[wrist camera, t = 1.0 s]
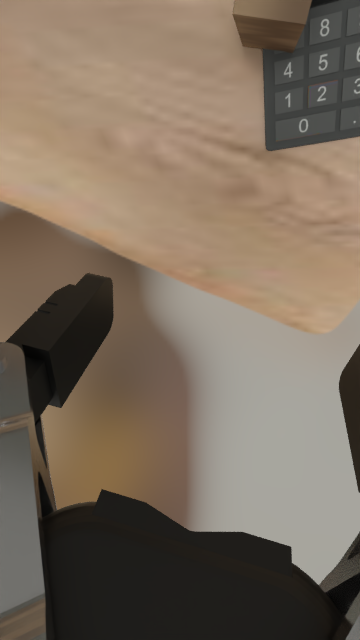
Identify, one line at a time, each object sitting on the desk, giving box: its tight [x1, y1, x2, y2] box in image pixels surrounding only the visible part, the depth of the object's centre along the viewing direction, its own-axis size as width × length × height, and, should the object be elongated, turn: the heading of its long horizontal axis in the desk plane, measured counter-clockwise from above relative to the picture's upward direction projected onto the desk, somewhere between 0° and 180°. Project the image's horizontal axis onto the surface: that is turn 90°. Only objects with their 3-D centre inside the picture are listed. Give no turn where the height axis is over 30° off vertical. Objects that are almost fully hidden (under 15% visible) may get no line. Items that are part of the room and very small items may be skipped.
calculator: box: [263, 0, 360, 151], centre depth 24 cm, size 12×1×15 cm
